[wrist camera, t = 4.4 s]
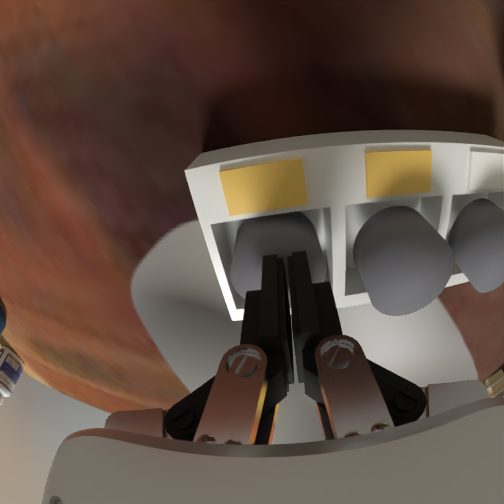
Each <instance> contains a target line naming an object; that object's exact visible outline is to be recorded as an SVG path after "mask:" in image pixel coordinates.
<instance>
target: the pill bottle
mask: <svg viewBox="0 0 504 504" xmlns="http://www.w3.org/2000/svg"><path fill="white" fill-rule="evenodd" d="M23 368H24V363H23V362H22V360H21V359H20V358H19V357H18V356H17V355H16V354H15V353H14V352H13V351H12V350H10V349H9V348H7V347H6V346H2V348H1V349H0V405H2V403H3V397H4V396H5V397H9V396H10V395H11V393H12V391H13V388H14V386H15V384H16V382H17V380H18V378H19V376H20V374H21V372H22V370H23Z"/></svg>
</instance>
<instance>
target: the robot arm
mask: <svg viewBox="0 0 504 504" xmlns="http://www.w3.org/2000/svg"><path fill="white" fill-rule="evenodd" d="M287 262H288V274H289V287H290V301H291V312H290V304H289V297H288V289H287V282H286V275H285V269H284V262H283V257H280V258H278V257H277V254H274V255H266V256H263V260H262V280H261V290H252V291H247V292H246V297H245V305H244V314H243V323H242V332H241V341H240V345H238V346H235V347H233V348H232V349H230V350H228V351H227V352H226V353H225V354H224V356H223V358H222V360H221V362H220V365H219V368H218V371H217V374H216V375H215V376H214V377H213V378H211V379H210V380H209V381H207V382H206V383H204V384H203V385H202V386H201V387H199V388H198V389H196V390H195V391H193V392H192V393H191V394H189V395H188V396H186V397H185V398H184V399H182V400H181V401H179V402H178V403H176V404H175V405H173V406H172V407H171V408H170V409H168V410H164V409H163V408H156V409H145V410H131V411H118V412H114V413H113V414H111V415H110V416H109V417H108V418H107V420H106V423H105V428H94V429H86V430H81V431H78V432H75V433H72V434H70V435H69V436H67V437H66V438H65V439H64V440H63V442H62V443H61V445H60V446H59V449H58V450H57V453H56V455H55V457H54V460H53V462H52V465H51V468H50V471H49V475H48V478H47V482H46V486H45V490H44V495H43V500H42V504H504V397H494V398H489V394H488V390H487V387H486V386H485V385H484V384H483V383H482V382H480V381H479V380H467V381H459V382H451V383H441V384H429V385H428V386H427V387H418V386H417V385H416V384H414V383H412V382H410V381H408V380H406V379H404V378H402V377H400V376H398V375H397V374H395V373H393V372H391V371H389V370H387V369H385V368H383V367H381V366H379V365H378V364H375V363H374V362H372V361H370V360H368V359H366V357H365V355H364V352H363V350H362V348H361V346H360V344H359V343H358V342H357V341H356V340H355V339H353V338H352V337H349V336H346V335H343V334H342V329H341V325H340V321H339V316H338V312H337V307H336V303H335V299H334V295H333V291H332V287H331V284H330V282H329V281H328V282H320V283H313V284H312V280H311V274H310V269H309V264H308V258H307V253H306V251H298V252H292V256H288V257H287ZM291 316H292V328H291ZM292 331H293V340H294V348H295V356H296V364H297V373H298V381H299V383H304V384H305V394H306V395H308V396H309V397H311V398H312V399H314V400H315V403H316V407H317V411H318V415H319V419H320V423H321V427H322V431H323V435H324V439H325V441H316V442H307V443H295V444H278V445H277V444H276V445H271V444H272V440H273V435H274V430H275V425H276V419H277V414H278V408H279V402H280V401H281V400H282V399H283V398H285V397H286V396H287V392H288V391H289V384H293V383H294V368H293V347H292Z"/></svg>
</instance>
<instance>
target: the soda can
mask: <svg viewBox="0 0 504 504" xmlns="http://www.w3.org/2000/svg"><path fill="white" fill-rule="evenodd" d="M6 316H7V315H6V311H5V309H4V307H3V305H2V303H1V302H0V334H1V333H2V331H3V330H4V328H5V326H6Z"/></svg>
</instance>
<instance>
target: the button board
mask: <svg viewBox="0 0 504 504" xmlns="http://www.w3.org/2000/svg"><path fill="white" fill-rule="evenodd" d="M185 174H186V177H187V181H188V184H189V188H190V191H191V195H192V198H193V201H194V205H195V208H196V211H197V215H198V218H199V221H200V225H201V228H202V231H203V234H204V237H205V241H206V244H207V247H208V250H209V253H210V256H211V259H212V262H213V266H214V269H215V272H216V274H217V278H218V280H219V284H220V286H221V290H222V292H223V295H224V298H225V301H226V304H227V307H228V310H229V313H230V316H231V318H232V321H236V320H243V314H244V305H245V299H244V298H242V297H241V296H240V295H239V294H238V292H237V291H236V290H235V288H234V286H233V284H232V281H231V277H230V268H231V262H232V256H233V251H234V246H235V240H236V235H237V232H238V229H239V227H240V225H241V224H242V222H243V221H244V220H245V219H247V218H254V217H261V216H267V215H274V214H281V213H288V212H296V211H299V212H301V213H303V214H304V215H305V216H306V217H307V218H308V219H309V220H310V221H311V222H312V224H313V226H314V228H315V230H316V233H317V236H318V239H319V242H320V246H321V249H322V252H323V255H324V259H325V262H326V268H327V272H326V278H325V281H324V282H328V281H329V282H330V284H331V287H332V291H333V295H334V299H335V303H336V307H337V308H343V307H350V306H356V305H361V304H367V303H371V301H370V298H369V296H368V293H367V291H366V288H365V286H364V283H363V281H362V279H361V276H360V274H359V272H358V269H357V267H356V265H355V262H354V258H353V246H354V241H355V238H356V236H357V234H358V232H359V230H360V229H361V227H362V226H363V225H364V223H365V222H366V221H367V220H368V219H369V218H370V217H371V216H373V215H374V214H376V213H377V212H379V211H381V210H383V209H385V208H388V207H392V206H407V207H410V208H413V209H415V210H416V211H418V212H419V213H420V214H421V215H422V216H423V217H424V218H425V219H426V220H427V221H428V222H429V223H430V224H431V225H432V226H433V227H434V228H435V230H436V231H437V232H438V233H439V234H440V235H441V236H442V237H443V238H444V239H445V240H446V241H447V243H448V239H449V234H450V231H451V228H452V225H453V223H454V221H455V219H456V218H457V216H458V215H459V213H460V212H461V211H462V210H463V208H464V207H465V206H467V205H468V204H469V203H470V202H472V201H474V200H476V199H480V198H485V199H488V200H490V201H491V202H493V203H494V204H495V205H497V206H498V207H499V208H501V209H502V210H503V211H504V142H502V141H500V140H497V139H495V138H493V137H490V136H488V135H482V134H473V133H463V132H450V131H432V130H370V131H350V132H336V133H324V134H314V135H305V136H296V137H289V138H281V139H274V140H268V141H261V142H255V143H250V144H244V145H239V146H233V147H228V148H223V149H218V150H214V151H209V152H205V153H201V154H200V155H199V156H198V157H197V158H196V159H195V160H194V161H193V162H192V163H191V164H190V165H189V166H188V167H187V168H186V169H185ZM468 281H469V280H468V279H467V277H466V276H465V275H464V273H463V272H462V271H461V269H460V268H459V267H458V266H457V264H456V263H455V262H454V267H453V271H452V274H451V277H450V279H449V281H448V283H447V285H446V286H445V287H448V286H452V285H456V284H460V283H464V282H468ZM290 312H291V308H290Z"/></svg>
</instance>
